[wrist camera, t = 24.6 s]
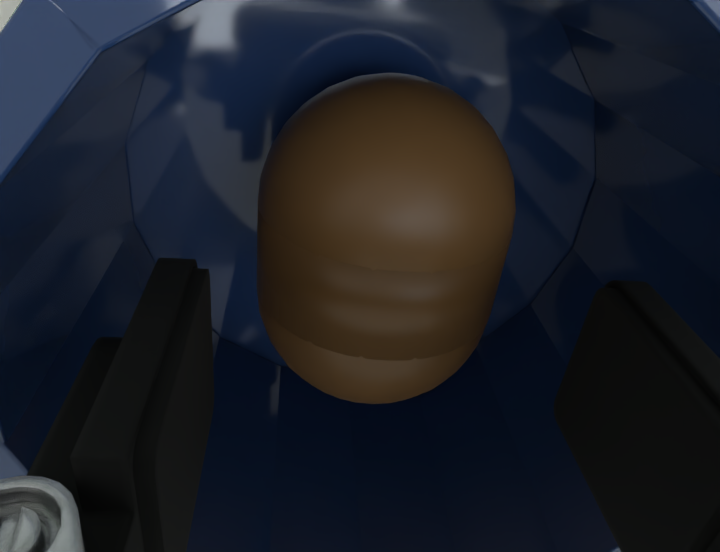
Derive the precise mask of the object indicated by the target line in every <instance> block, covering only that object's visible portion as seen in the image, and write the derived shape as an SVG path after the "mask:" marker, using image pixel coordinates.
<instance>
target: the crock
mask: <svg viewBox="0 0 720 552" xmlns="http://www.w3.org/2000/svg"><path fill="white" fill-rule="evenodd" d="M379 73H402V74H409V75H415V76H419V77H422V78H425V79H427V80H430V81H433V82H435V83H438V84H440V85H443V86H445V87H447V88H449V89H451V90H453V91H454V92H455V93H457V94H458V95H460V96H461V97H462V98H464V99H465V100H467V101H468V102H469V103H471V104H472V105H473V106H474V107H475V108H476V109H477V110H478V111H479V112H480V113H481V114H482V116H483V117H484V118H485V119H486V120H487V121H488V122H489V124H490V125H491V126H492V127H493V129H494V131H495V133H496V134H497V136H498V138H499V140H500V142H501V144H502V145H503V147H504V149H505V151H506V153H507V155H508V159H509V162H510V166H511V169H512V173H513V176H514V188H515V206H516V213H515V220H514V226H513V232H512V237H511V241H510V245H509V248H508V252H507V256H506V259H505V263H504V266H503V270H502V274H501V277H500V281H499V285H498V288H497V292H496V296H495V299H494V303H493V306H492V310H491V314H490V317H489V320H488V322H487V324H486V327H485V329H484V331H483V334H482V336H481V338H480V341H479V343H478V345H477V347H476V348H475V350H474V351H473V352H472V354H471V355H470V356H469V358H468V359H467V360H466V362H465V363H464V364H463V365H462V366H461V367H460V368H459V370H458V371H457V372H456V373H454V374H453V375H452V376H450V377H449V378H448V379H447V380H445V381H444V382H443V383H441V384H440V385H438V386H437V387H435V388H434V389H432V390H430V391H428V392H425V393H423V394H420V395H418V396H415V397H412V398H409V399H407V400H403V401H398V402H393V403H386V404H366V403H355V402H351V401H347V400H343V399H339V398H336V397H334V396H331V395H329V394H326V393H324V392H322V391H321V390H319V389H317V388H315V387H314V386H312V385H311V384H309V383H308V382H306V381H305V380H303V379H302V378H301V377H300V376H299V375H297V374H296V373H295V372H294V371H293V370H292V369H290V368H289V366H288V365H287V364H286V362H285V361H284V360H283V358H282V357H281V356H280V354H279V353H278V352H277V350H276V349H275V347H274V346H273V345H272V343H271V341H270V339H269V336H268V334H267V331H266V329H265V326H264V323H263V321H262V318H261V315H260V312H259V304H258V295H257V222H258V193H259V185H260V177H261V173H262V170H263V167H264V164H265V161H266V158H267V155H268V153H269V150H270V148H271V146H272V144H273V142H274V140H275V139H276V137H277V136H278V134H279V132H280V131H281V129H282V127H283V126H284V124H285V123H286V122H287V121H288V119H289V118H290V117H291V116H292V115H293V114H294V113H295V112H296V111H297V110H298V109H299V108H300V107H301V106H302V105H303V104H304V103H306V102H307V101H308V100H310V99H311V98H313V97H314V96H316V95H317V94H319V93H320V92H322V91H323V90H325V89H326V88H328V87H330V86H332V85H335V84H338V83H340V82H343V81H346V80H348V79H351V78H354V77H357V76H361V75H370V74H379ZM159 258H179V259H195V260H196V262H197V267H198V268H202V269H209V273H210V294H211V320H212V346H213V371H214V408H213V415H212V420H211V425H210V431H209V436H208V441H207V446H206V451H205V456H204V462H203V467H202V472H201V477H200V482H199V488H198V493H197V498H196V503H195V508H194V513H193V519H192V524H191V529H190V534H189V539H188V544H187V550H186V552H621V550H620V548H619V546H618V544H617V542H616V540H615V538H614V536H613V534H612V532H611V530H610V528H609V526H608V524H607V522H606V520H605V518H604V516H603V514H602V512H601V510H600V508H599V506H598V504H597V502H596V500H595V498H594V496H593V494H592V492H591V490H590V488H589V486H588V484H587V482H586V480H585V478H584V476H583V474H582V472H581V470H580V468H579V466H578V464H577V462H576V460H575V458H574V456H573V454H572V452H571V450H570V448H569V446H568V444H567V442H566V440H565V438H564V436H563V434H562V432H561V430H560V428H559V426H558V424H557V422H556V419H555V416H554V401H555V398H556V395H557V392H558V390H559V387H560V384H561V382H562V379H563V376H564V374H565V371H566V369H567V366H568V363H569V361H570V358H571V355H572V353H573V350H574V347H575V345H576V342H577V340H578V337H579V334H580V332H581V329H582V326H583V324H584V321H585V318H586V316H587V313H588V311H589V308H590V305H591V303H592V300H593V297H594V295H595V293H596V291H597V290H598V289H600V288H604V287H605V285H606V284H607V283H608V282H610V281H612V280H623V281H642V282H647V283H648V284H649V285H651V286H652V287H653V289H654V290H655V291H656V292H657V293H658V294H659V295H660V296H661V297H662V298H663V299H664V300H665V301H666V302H667V303H668V304H669V305H670V307H671V308H672V309H673V310H674V311H675V312H676V313H677V314H678V315H679V316H680V317H681V318H682V319H683V320H684V321H685V322H686V323H687V325H688V326H689V327H690V328H691V329H692V330H693V331H694V332H695V333H696V334H697V335H698V336H699V337H700V338H701V339H702V340H703V341H704V343H705V344H706V345H707V346H708V347H709V348H710V349H711V350H712V351H713V352H714V353H715V354H716V355H717V356H718V357H719V358H720V0H22V1H21V2H20V4H19V5H18V7H17V8H16V10H15V11H14V13H13V14H12V16H11V17H10V18H9V20H8V21H7V23H6V24H5V26H4V27H3V29H2V30H1V32H0V479H5V478H10V477H16V476H21V475H22V476H26V475H27V473H28V472H29V470H30V468H31V466H32V464H33V462H34V460H35V458H36V456H37V454H38V452H39V450H40V448H41V446H42V444H43V442H44V440H45V438H46V436H47V434H48V432H49V430H50V428H51V426H52V424H53V422H54V420H55V418H56V416H57V414H58V413H59V411H60V409H61V407H62V405H63V403H64V401H65V399H66V397H67V395H68V393H69V391H70V389H71V387H72V385H73V383H74V381H75V379H76V377H77V375H78V373H79V371H80V369H81V367H82V365H83V363H84V361H85V359H86V357H87V356H88V354H89V352H90V350H91V348H92V346H93V344H94V343H95V341H96V340H97V339H98V338H100V337H124V334H125V332H126V330H127V328H128V325H129V323H130V321H131V319H132V316H133V314H134V312H135V310H136V307H137V305H138V303H139V301H140V298H141V296H142V294H143V292H144V289H145V287H146V285H147V283H148V280H149V278H150V276H151V274H152V271H153V269H154V267H155V265H156V262H157V260H158V259H159Z"/></svg>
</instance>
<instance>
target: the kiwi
mask: <svg viewBox="0 0 720 552" xmlns="http://www.w3.org/2000/svg"><path fill="white" fill-rule="evenodd" d="M515 213H516V206H515V188H514V176H513V173H512V169H511V166H510V162H509V159H508V155H507V153H506V151H505V149H504V147H503V145H502V144H501V142H500V140H499V138H498V136H497V134H496V133H495V131H494V129H493V127H492V126H491V125H490V124H489V122H488V121H487V120H486V119H485V118H484V117H483V116H482V114H481V113H480V112H479V111H478V110H477V109H476V108H475V107H474V106H473V105H472V104H471V103H469V102H468V101H467V100H465V99H464V98H462V97H461V96H460V95H458V94H457V93H455V92H454V91H453V90H451V89H449V88H447V87H445V86H443V85H440V84H438V83H435V82H433V81H430V80H427V79H425V78H422V77H419V76H415V75H409V74H402V73H379V74H370V75H361V76H357V77H354V78H351V79H348V80H346V81H343V82H340V83H338V84H335V85H332V86H330V87H328V88H326V89H325V90H323V91H322V92H320V93H319V94H317V95H316V96H314V97H313V98H311V99H310V100H308V101H307V102H306V103H304V104H303V105H302V106H301V107H300V108H299V109H298V110H297V111H296V112H295V113H294V114H293V115H292V116H291V117H290V118H289V119H288V121H287V122H286V123H285V124H284V126H283V127H282V129H281V131H280V132H279V134H278V136H277V137H276V139H275V140H274V142H273V144H272V146H271V148H270V150H269V153H268V155H267V158H266V161H265V164H264V167H263V170H262V173H261V177H260V185H259V193H258V222H257V295H258V304H259V312H260V315H261V318H262V321H263V323H264V326H265V329H266V331H267V334H268V336H269V339H270V341H271V343H272V345H273V346H274V347H275V349H276V350H277V352H278V353H279V354H280V356H281V357H282V358H283V360H284V361H285V362H286V364H287V365H288V366H289V368H290V369H292V370H293V371H294V372H295V373H296V374H297V375H299V376H300V377H301V378H302V379H303V380H305V381H306V382H308V383H309V384H311V385H312V386H314V387H315V388H317V389H319V390H321V391H322V392H324V393H326V394H329V395H331V396H334V397H336V398H339V399H343V400H347V401H351V402H355V403H366V404H386V403H393V402H398V401H403V400H407V399H409V398H412V397H415V396H418V395H420V394H423V393H425V392H428V391H430V390H432V389H434V388H435V387H437V386H438V385H440V384H441V383H443V382H444V381H445V380H447V379H448V378H449V377H450V376H452V375H453V374H454V373H456V372H457V371H458V370H459V368H460V367H461V366H462V365H463V364H464V363H465V362H466V360H467V359H468V358H469V356H470V355H471V354H472V352H473V351H474V350H475V348H476V347H477V345H478V343H479V341H480V338H481V336H482V334H483V331H484V329H485V327H486V324H487V322H488V320H489V317H490V314H491V310H492V306H493V303H494V299H495V296H496V292H497V288H498V285H499V281H500V277H501V274H502V270H503V266H504V263H505V259H506V256H507V252H508V248H509V245H510V241H511V237H512V232H513V226H514V220H515Z"/></svg>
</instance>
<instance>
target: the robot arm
mask: <svg viewBox="0 0 720 552" xmlns="http://www.w3.org/2000/svg"><path fill="white" fill-rule="evenodd" d="M213 408H214V371H213V346H212V320H211V294H210V273H209V269H202V268H198V267H197V262H196V260H195V259H179V258H159V259H158V260H157V262H156V265H155V267H154V269H153V271H152V274H151V276H150V278H149V280H148V283H147V285H146V287H145V289H144V292H143V294H142V296H141V298H140V301H139V303H138V305H137V307H136V310H135V312H134V314H133V316H132V319H131V321H130V323H129V325H128V328H127V330H126V332H125V334H124V337H100V338H98V339H97V340H96V341H95V343H94V344H93V346H92V348H91V350H90V352H89V354H88V356H87V357H86V359H85V361H84V363H83V365H82V367H81V369H80V371H79V373H78V375H77V377H76V379H75V381H74V383H73V385H72V387H71V389H70V391H69V393H68V395H67V397H66V399H65V401H64V403H63V405H62V407H61V409H60V411H59V413H58V414H57V416H56V418H55V420H54V422H53V424H52V426H51V428H50V430H49V432H48V434H47V436H46V438H45V440H44V442H43V444H42V446H41V448H40V450H39V452H38V454H37V456H36V458H35V460H34V462H33V464H32V466H31V468H30V470H29V472H28V473H27V475H26V476H22V475H21V476H16V477H10V478H5V479H0V552H186V550H187V544H188V539H189V534H190V529H191V524H192V519H193V513H194V508H195V503H196V498H197V493H198V488H199V482H200V477H201V472H202V467H203V462H204V456H205V451H206V446H207V441H208V436H209V431H210V425H211V420H212V415H213ZM554 416H555V419H556V422H557V424H558V426H559V428H560V430H561V432H562V434H563V436H564V438H565V440H566V442H567V444H568V446H569V448H570V450H571V452H572V454H573V456H574V458H575V460H576V462H577V464H578V466H579V468H580V470H581V472H582V474H583V476H584V478H585V480H586V482H587V484H588V486H589V488H590V490H591V492H592V494H593V496H594V498H595V500H596V502H597V504H598V506H599V508H600V510H601V512H602V514H603V516H604V518H605V520H606V522H607V524H608V526H609V528H610V530H611V532H612V534H613V536H614V538H615V540H616V542H617V544H618V546H619V548H620V550H621V552H720V358H719V357H718V356H717V355H716V354H715V353H714V352H713V351H712V350H711V349H710V348H709V347H708V346H707V345H706V344H705V343H704V341H703V340H702V339H701V338H700V337H699V336H698V335H697V334H696V333H695V332H694V331H693V330H692V329H691V328H690V327H689V326H688V325H687V323H686V322H685V321H684V320H683V319H682V318H681V317H680V316H679V315H678V314H677V313H676V312H675V311H674V310H673V309H672V308H671V307H670V305H669V304H668V303H667V302H666V301H665V300H664V299H663V298H662V297H661V296H660V295H659V294H658V293H657V292H656V291H655V290H654V289H653V287H652V286H651V285H649V284H648V283H647V282H642V281H623V280H612V281H610V282H608V283H607V284H606V285H605V287H604V288H600V289H598V290H597V291H596V293H595V295H594V297H593V300H592V303H591V305H590V308H589V311H588V313H587V316H586V318H585V321H584V324H583V326H582V329H581V332H580V334H579V337H578V340H577V342H576V345H575V347H574V350H573V353H572V355H571V358H570V361H569V363H568V366H567V369H566V371H565V374H564V376H563V379H562V382H561V384H560V387H559V390H558V392H557V395H556V398H555V401H554Z"/></svg>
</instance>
